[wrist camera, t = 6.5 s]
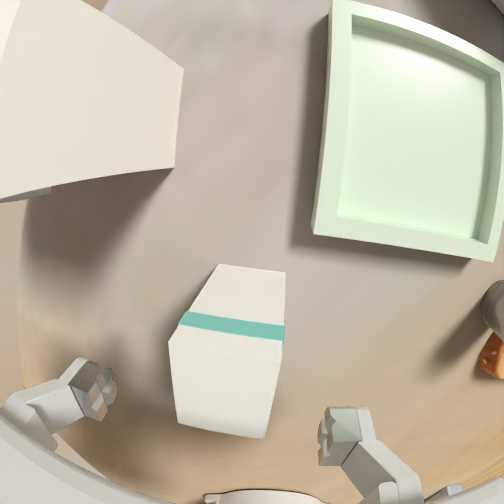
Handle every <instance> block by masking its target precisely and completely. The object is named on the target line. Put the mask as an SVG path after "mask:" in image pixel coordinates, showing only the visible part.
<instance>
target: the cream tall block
mask: <svg viewBox="0 0 504 504" xmlns="http://www.w3.org/2000/svg"><path fill="white" fill-rule="evenodd" d="M183 73H184V69H183V68H181V67H180V66H179V65H177V64H176V63H175V62H174V61H172V60H171V59H170V58H168V57H167V56H166V55H164V54H163V53H161V52H160V51H159V50H157V49H156V48H155V47H153V46H152V45H150V44H149V43H148V42H146V41H145V40H143V39H142V38H140V37H139V36H137V35H136V34H134V33H133V32H132V31H130V30H129V29H127V28H125V27H124V26H122V25H121V24H119V23H118V22H116V21H115V20H113V19H111V18H110V17H108V16H107V15H105V14H103V13H102V12H100V11H98V10H97V9H95V8H93V7H92V6H90V5H88V4H86V3H85V2H83V1H81V0H0V203H3V202H12V201H18V200H24V199H30V198H35V197H39V196H43V195H46V194H49V193H51V192H52V186H55V185H60V184H65V183H70V182H75V181H80V180H86V179H92V178H98V177H104V176H110V175H117V174H124V173H131V172H139V171H147V170H155V169H165V168H174V165H175V150H176V137H177V126H178V116H179V106H180V97H181V89H182V81H183Z"/></svg>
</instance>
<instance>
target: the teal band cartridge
mask: <svg viewBox="0 0 504 504" xmlns="http://www.w3.org/2000/svg"><path fill="white" fill-rule="evenodd" d="M285 281H286V273H285V272H277V271H270V270H262V269H254V268H246V267H239V266H231V265H224V264H218V266H217V267H216V269H215V270H214V272H213V273H212V275H211V276H210V278H209V279H208V281H207V282H206V284H205V286H204V287H203V289H202V290H201V292H200V293H199V295H198V296H197V298H196V299H195V301H194V302H193V304H192V306H191V307H190V309H189V310H188V311H186V312H185V313H184V315H183V316H182V318H181V319H180V321H179V323H178V327H177V329H176V330H175V332H174V334H173V335H172V337H171V338H170V340H169V341H168V346H169V356H170V366H171V375H172V384H173V392H174V399H175V406H176V413H177V420H178V423H180V424H184V425H188V426H192V427H196V428H201V429H205V430H210V431H215V432H220V433H226V434H231V435H237V436H244V437H251V438H258V439H264V437H265V433H266V429H267V424H268V420H269V416H270V411H271V407H272V402H273V398H274V393H275V389H276V384H277V379H278V374H279V370H280V365H281V357H282V348H283V343H284V330H285V326H283V323H284V304H285Z"/></svg>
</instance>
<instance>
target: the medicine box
mask: <svg viewBox="0 0 504 504" xmlns="http://www.w3.org/2000/svg"><path fill="white" fill-rule="evenodd" d="M461 491H463V490H462V487H461V484H455V485H450V486H447V487H445V488H444V489H443V490H441V491H440V492H438V493H437V494H435V495H434V496H432V497H431V498H429V499H428V500H426V501H425V503H428V502H432V501H435V500H438V499H441V498H444V497H447V496H450V495H453V494H456V493H458V492H461Z"/></svg>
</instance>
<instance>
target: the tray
mask: <svg viewBox="0 0 504 504" xmlns="http://www.w3.org/2000/svg"><path fill="white" fill-rule="evenodd" d="M503 219H504V63H503V62H502V61H500V60H499V59H497V58H495V57H494V56H492V55H490V54H489V53H487V52H485V51H483V50H482V49H480V48H478V47H476V46H474V45H472V44H471V43H469V42H467V41H465V40H463V39H461V38H459V37H457V36H455V35H452V34H450V33H448V32H446V31H444V30H441V29H439V28H437V27H434V26H432V25H429V24H427V23H424V22H422V21H419V20H416V19H414V18H411V17H408V16H405V15H402V14H399V13H396V12H393V11H389V10H386V9H382V8H379V7H375V6H371V5H367V4H363V3H359V2H354V1H349V0H332V1H331V5H330V9H329V13H328V45H327V66H326V83H325V97H324V110H323V122H322V133H321V143H320V153H319V162H318V171H317V180H316V188H315V196H314V203H313V211H312V218H311V228H312V231H313V234H317V235H324V236H331V237H339V238H346V239H353V240H360V241H367V242H374V243H380V244H387V245H394V246H400V247H407V248H413V249H419V250H426V251H432V252H438V253H444V254H450V255H456V256H461V257H467V258H473V259H478V260H484V261H489V262H493V261H494V258H495V254H496V250H497V246H498V242H499V238H500V234H501V229H502V224H503Z"/></svg>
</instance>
